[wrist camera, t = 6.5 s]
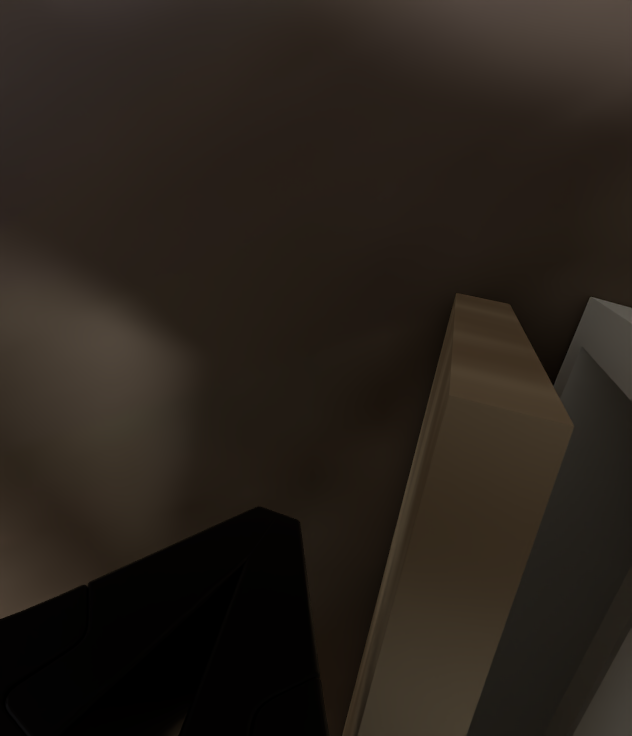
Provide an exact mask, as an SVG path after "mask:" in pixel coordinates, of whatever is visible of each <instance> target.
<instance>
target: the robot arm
mask: <svg viewBox="0 0 632 736" xmlns="http://www.w3.org/2000/svg"><path fill="white" fill-rule="evenodd" d="M319 678H320V672H319V665H318V657H317V649H316V641H315V634H314V626H313V618H312V611H311V603H310V595H309V587H308V580H307V572H306V564H305V557H304V549H303V541H302V533H301V526H300V522H299V521H298V520H297V519H294V518H291V517H288V516H286V515H283V514H280V513H277V512H274V511H272V510H269V509H266V508H263V507H255V508H253V509H251V510H249V511H246V512H244V513H242V514H240V515H238V516H235V517H233V518H231V519H229V520H226V521H224V522H222V523H220V524H218V525H215V526H213V527H211V528H209V529H206V530H204V531H202V532H200V533H197V534H195V535H193V536H191V537H189V538H186V539H184V540H182V541H180V542H177V543H175V544H173V545H171V546H169V547H166V548H164V549H162V550H160V551H157V552H155V553H153V554H151V555H149V556H146V557H144V558H142V559H140V560H137V561H135V562H133V563H131V564H129V565H126V566H124V567H122V568H120V569H117V570H115V571H113V572H111V573H108V574H106V575H104V576H102V577H100V578H97V579H95V580H93V581H91V582H89V583H88V585H87V586H86V585H81V586H79V587H77V588H75V589H72V590H70V591H68V592H66V593H63V594H61V595H59V596H57V597H54V598H52V599H49V600H47V601H45V602H42V603H40V604H38V605H35V606H33V607H30V608H28V609H26V610H23V611H21V612H18V613H15V614H13V615H10V616H7V617H5V618H2V619H0V736H329V731H328V725H327V719H326V713H325V708H324V701H323V693H322V685H321V680H320V679H319Z"/></svg>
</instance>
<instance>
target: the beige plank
mask: <svg viewBox="0 0 632 736" xmlns="http://www.w3.org/2000/svg"><path fill="white" fill-rule="evenodd" d="M573 429H574V425H573V423H572V421H571V419H570V417H569V415H568V413H567V411H566V409H565V408H564V406H563V404H562V402H561V400H560V398H559V396H558V394H557V392H556V391H555V389H554V387H553V385H552V383H551V381H550V379H549V377H548V375H547V374H546V372H545V370H544V368H543V366H542V364H541V362H540V360H539V358H538V356H537V355H536V353H535V351H534V349H533V347H532V345H531V343H530V341H529V339H528V338H527V336H526V334H525V332H524V330H523V328H522V326H521V324H520V322H519V321H518V319H517V317H516V315H515V313H514V311H513V309H512V307H511V305H510V304H507V303H502V302H497V301H493V300H488V299H483V298H479V297H474V296H469V295H465V294H460V293H456V295H455V299H454V303H453V307H452V311H451V315H450V319H449V323H448V326H447V330H446V334H445V338H444V342H443V346H442V350H441V354H440V358H439V361H438V365H437V369H436V373H435V377H434V381H433V385H432V389H431V392H430V396H429V400H428V404H427V408H426V412H425V416H424V420H423V424H422V427H421V431H420V435H419V439H418V443H417V447H416V451H415V455H414V458H413V462H412V466H411V470H410V474H409V478H408V482H407V486H406V490H405V493H404V497H403V501H402V505H401V509H400V513H399V517H398V521H397V524H396V528H395V532H394V536H393V540H392V544H391V548H390V552H389V556H388V559H387V563H386V567H385V571H384V575H383V579H382V583H381V587H380V590H379V594H378V598H377V602H376V606H375V610H374V614H373V618H372V622H371V625H370V629H369V633H368V637H367V641H366V645H365V649H364V653H363V656H362V660H361V664H360V668H359V672H358V676H357V680H356V684H355V688H354V691H353V695H352V699H351V703H350V707H349V711H348V715H347V719H346V723H345V726H344V730H343V734H342V736H466V735H467V732H468V730H469V727H470V724H471V721H472V718H473V715H474V712H475V710H476V707H477V704H478V701H479V698H480V695H481V692H482V689H483V687H484V684H485V681H486V678H487V675H488V672H489V669H490V667H491V664H492V661H493V658H494V655H495V652H496V649H497V646H498V644H499V641H500V638H501V635H502V632H503V629H504V626H505V624H506V621H507V618H508V615H509V612H510V609H511V606H512V604H513V601H514V598H515V595H516V592H517V589H518V586H519V583H520V581H521V578H522V575H523V572H524V569H525V566H526V563H527V561H528V558H529V555H530V552H531V549H532V546H533V543H534V540H535V538H536V535H537V532H538V529H539V526H540V523H541V520H542V518H543V515H544V512H545V509H546V506H547V503H548V500H549V497H550V495H551V492H552V489H553V486H554V483H555V480H556V477H557V475H558V472H559V469H560V466H561V463H562V460H563V457H564V455H565V452H566V449H567V446H568V443H569V440H570V437H571V434H572V432H573Z"/></svg>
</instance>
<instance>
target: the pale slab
mask: <svg viewBox="0 0 632 736" xmlns="http://www.w3.org/2000/svg"><path fill="white" fill-rule="evenodd" d="M553 387H554V389H555V391H556V392H557V394H558V396H559V398H560V400H561V402H562V404H563V406H564V408H565V409H566V411H567V413H568V415H569V417H570V419H571V421H572V423H573V425H574V429H573V432H572V434H571V437H570V440H569V443H568V446H567V449H566V452H565V455H564V457H563V460H562V463H561V466H560V469H559V472H558V475H557V477H556V480H555V483H554V486H553V489H552V492H551V495H550V497H549V500H548V503H547V506H546V509H545V512H544V515H543V518H542V520H541V523H540V526H539V529H538V532H537V535H536V538H535V540H534V543H533V546H532V549H531V552H530V555H529V558H528V561H527V563H526V566H525V569H524V572H523V575H522V578H521V581H520V583H519V586H518V589H517V592H516V595H515V598H514V601H513V604H512V606H511V609H510V612H509V615H508V618H507V621H506V624H505V626H504V629H503V632H502V635H501V638H500V641H499V644H498V646H497V649H496V652H495V655H494V658H493V661H492V664H491V667H490V669H489V672H488V675H487V678H486V681H485V684H484V687H483V689H482V692H481V695H480V698H479V701H478V704H477V707H476V710H475V712H474V715H473V718H472V721H471V724H470V727H469V730H468V732H467V735H466V736H632V308H630V307H627V306H623V305H619V304H616V303H612V302H609V301H605V300H601V299H598V298H594V297H590V298H589V301H588V303H587V305H586V308H585V310H584V313H583V315H582V318H581V320H580V322H579V325H578V327H577V330H576V332H575V334H574V337H573V339H572V342H571V344H570V347H569V349H568V351H567V354H566V356H565V359H564V361H563V364H562V366H561V368H560V371H559V373H558V376H557V378H556V380H555V383H554V385H553Z"/></svg>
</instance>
